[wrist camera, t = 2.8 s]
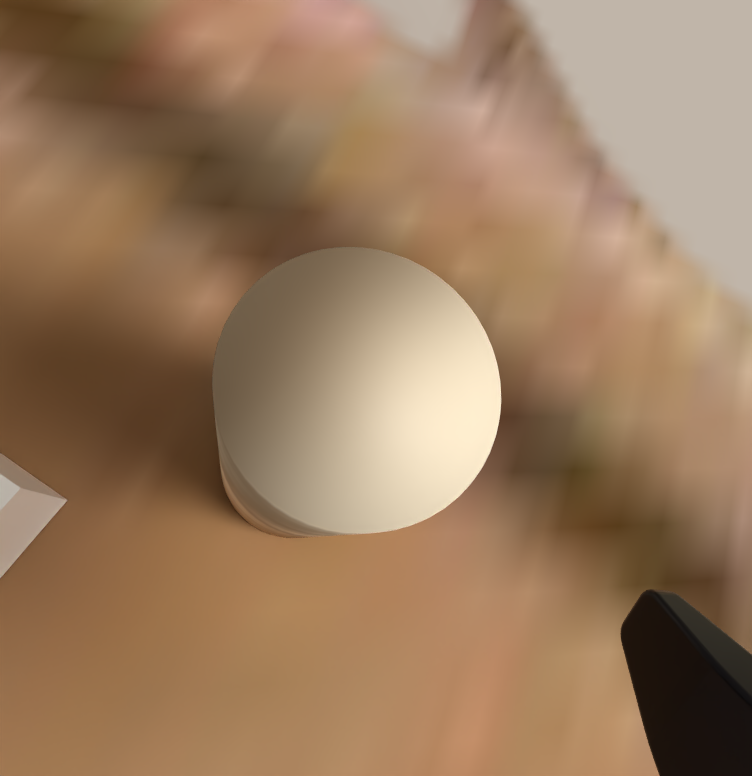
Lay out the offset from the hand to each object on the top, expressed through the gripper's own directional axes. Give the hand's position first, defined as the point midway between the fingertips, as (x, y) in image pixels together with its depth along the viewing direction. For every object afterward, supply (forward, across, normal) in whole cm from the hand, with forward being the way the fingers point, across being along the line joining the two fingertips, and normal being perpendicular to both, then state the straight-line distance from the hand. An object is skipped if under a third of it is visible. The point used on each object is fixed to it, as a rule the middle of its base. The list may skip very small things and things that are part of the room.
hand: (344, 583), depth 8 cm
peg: (+9, 0, +5) cm, 10 cm away
